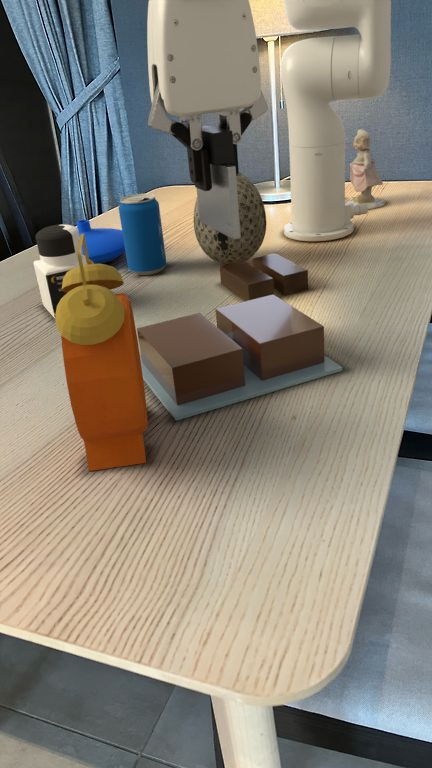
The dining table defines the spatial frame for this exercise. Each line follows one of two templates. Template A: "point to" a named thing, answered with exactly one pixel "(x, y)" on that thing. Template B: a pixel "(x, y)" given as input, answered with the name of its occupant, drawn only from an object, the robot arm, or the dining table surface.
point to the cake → (231, 355)
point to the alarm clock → (102, 365)
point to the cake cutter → (220, 184)
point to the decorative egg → (250, 227)
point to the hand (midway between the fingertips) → (215, 185)
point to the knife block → (264, 277)
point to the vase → (101, 242)
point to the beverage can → (142, 234)
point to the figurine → (364, 173)
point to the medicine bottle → (56, 261)
